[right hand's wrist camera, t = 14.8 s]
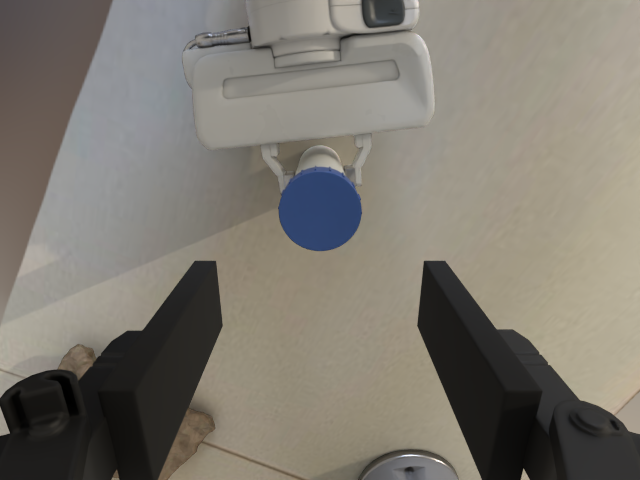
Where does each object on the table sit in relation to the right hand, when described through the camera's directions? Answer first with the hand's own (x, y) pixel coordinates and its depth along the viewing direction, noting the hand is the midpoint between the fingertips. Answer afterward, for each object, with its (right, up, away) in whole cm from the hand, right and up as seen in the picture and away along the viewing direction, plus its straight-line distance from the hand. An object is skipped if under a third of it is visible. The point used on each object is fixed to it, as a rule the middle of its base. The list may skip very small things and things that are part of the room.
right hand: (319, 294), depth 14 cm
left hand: (0, +7, +22) cm, 23 cm away
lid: (0, +4, +11) cm, 12 cm away
